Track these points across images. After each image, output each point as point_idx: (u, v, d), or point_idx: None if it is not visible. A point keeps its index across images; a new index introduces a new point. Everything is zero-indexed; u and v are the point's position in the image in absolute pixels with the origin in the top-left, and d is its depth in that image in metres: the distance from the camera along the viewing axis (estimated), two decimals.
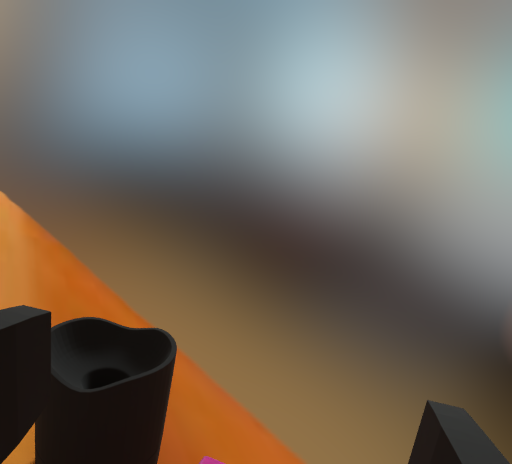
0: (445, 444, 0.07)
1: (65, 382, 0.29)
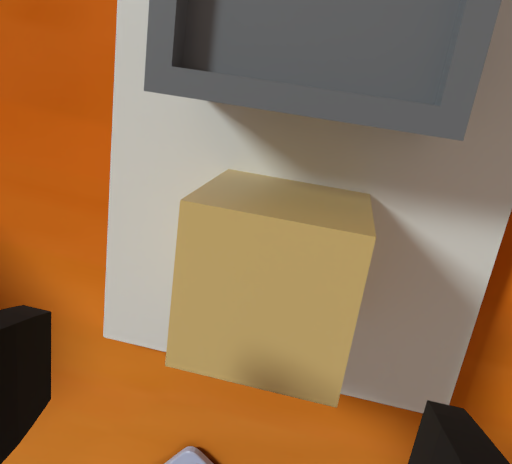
0: (445, 444, 0.07)
1: None
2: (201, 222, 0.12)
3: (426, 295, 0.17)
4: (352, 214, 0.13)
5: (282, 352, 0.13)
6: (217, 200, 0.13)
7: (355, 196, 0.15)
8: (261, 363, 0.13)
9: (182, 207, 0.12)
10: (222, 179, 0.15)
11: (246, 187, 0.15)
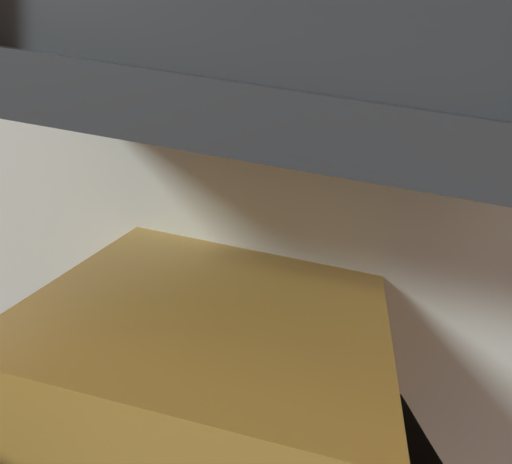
0: None
1: None
2: None
3: (480, 447, 0.10)
4: (350, 359, 0.06)
5: None
6: (40, 343, 0.06)
7: (356, 288, 0.08)
8: None
9: None
10: (105, 259, 0.08)
11: (143, 281, 0.07)
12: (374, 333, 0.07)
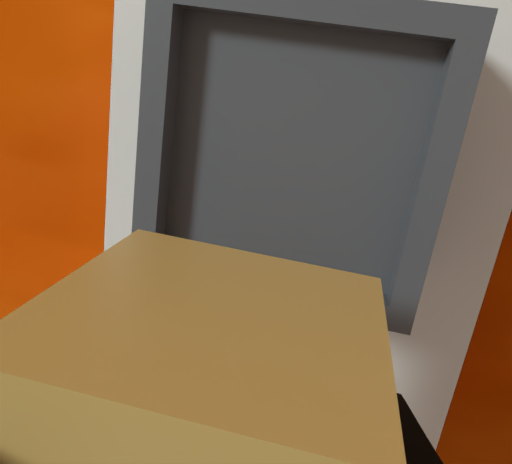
0: None
1: None
2: None
3: None
4: (348, 361, 0.06)
5: None
6: (46, 345, 0.06)
7: (355, 290, 0.08)
8: None
9: None
10: (107, 261, 0.08)
11: (145, 284, 0.08)
12: (372, 335, 0.07)
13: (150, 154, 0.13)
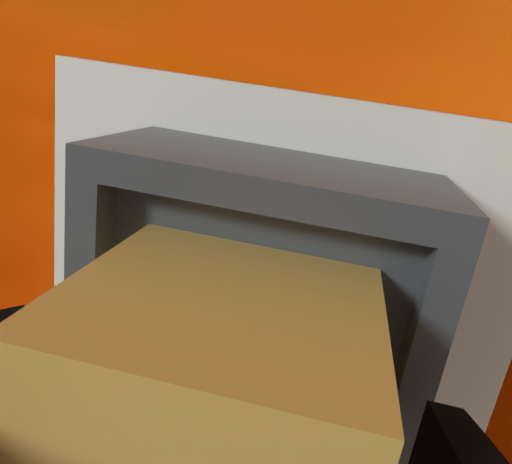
0: (445, 444, 0.07)
1: None
2: (26, 382, 0.06)
3: None
4: (350, 342, 0.07)
5: None
6: (71, 326, 0.06)
7: (356, 280, 0.09)
8: None
9: None
10: (122, 253, 0.09)
11: (158, 273, 0.08)
12: (372, 320, 0.07)
13: None
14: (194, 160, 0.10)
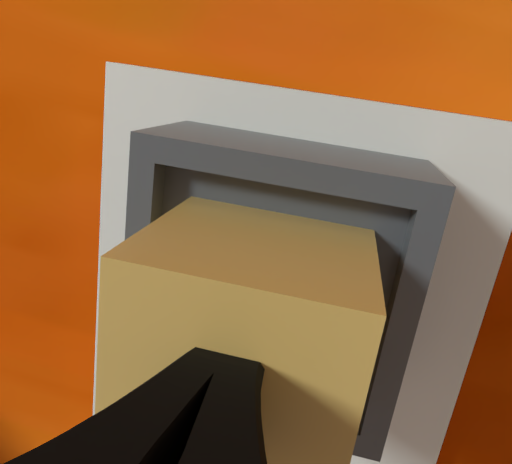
0: None
1: None
2: (131, 288, 0.08)
3: None
4: (351, 269, 0.09)
5: None
6: (157, 253, 0.09)
7: (355, 235, 0.12)
8: None
9: (104, 266, 0.08)
10: (177, 214, 0.11)
11: (207, 227, 0.11)
12: (367, 258, 0.10)
13: None
14: (229, 145, 0.12)
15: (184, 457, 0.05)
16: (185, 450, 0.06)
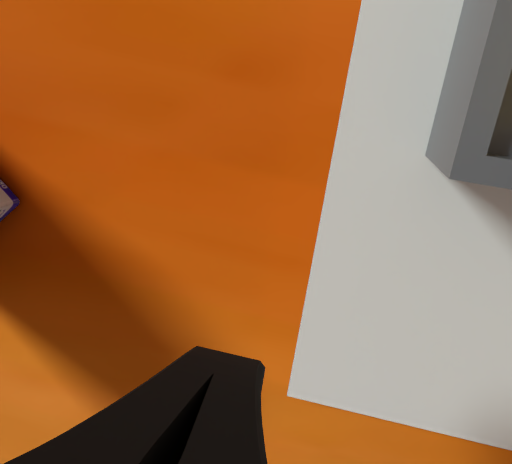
0: None
1: None
2: None
3: None
4: None
5: None
6: None
7: None
8: None
9: None
10: None
11: None
12: None
13: (508, 26, 0.11)
14: None
15: (184, 457, 0.05)
16: (185, 450, 0.06)
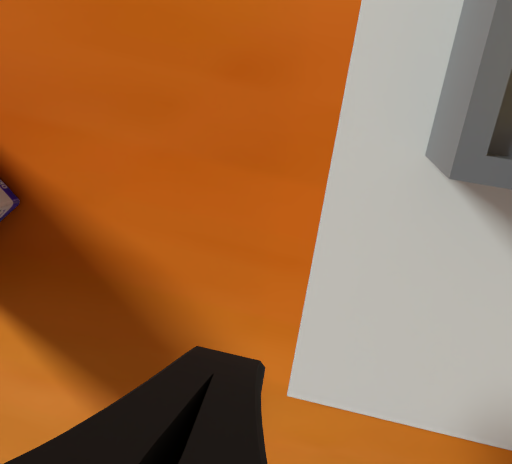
0: None
1: None
2: None
3: None
4: None
5: None
6: None
7: None
8: None
9: None
10: None
11: None
12: None
13: (508, 26, 0.11)
14: None
15: (184, 457, 0.05)
16: (185, 450, 0.06)
